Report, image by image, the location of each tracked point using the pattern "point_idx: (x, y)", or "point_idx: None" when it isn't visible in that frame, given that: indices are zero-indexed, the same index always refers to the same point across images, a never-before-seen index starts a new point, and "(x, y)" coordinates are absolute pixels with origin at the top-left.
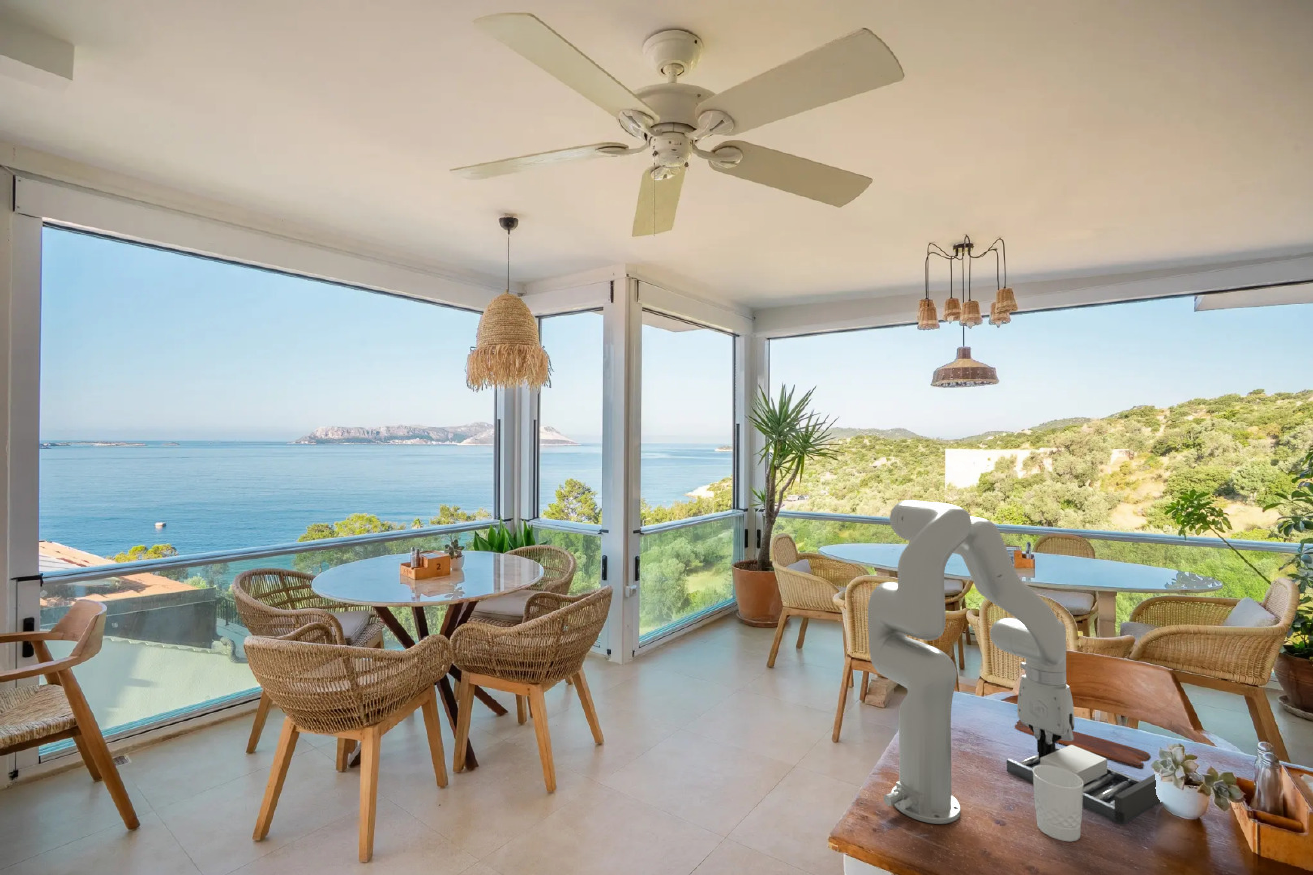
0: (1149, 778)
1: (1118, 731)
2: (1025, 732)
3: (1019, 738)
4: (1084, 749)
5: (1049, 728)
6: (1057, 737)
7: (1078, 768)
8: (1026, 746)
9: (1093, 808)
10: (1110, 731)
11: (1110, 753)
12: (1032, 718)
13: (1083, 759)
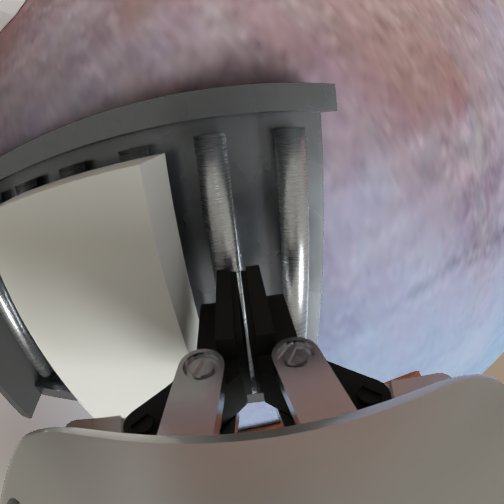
0: (4, 391)
1: None
2: (396, 379)
3: (399, 350)
4: (264, 429)
5: (110, 470)
6: (134, 419)
7: (11, 274)
8: (371, 336)
9: None
10: None
11: None
12: (374, 500)
13: (88, 370)
